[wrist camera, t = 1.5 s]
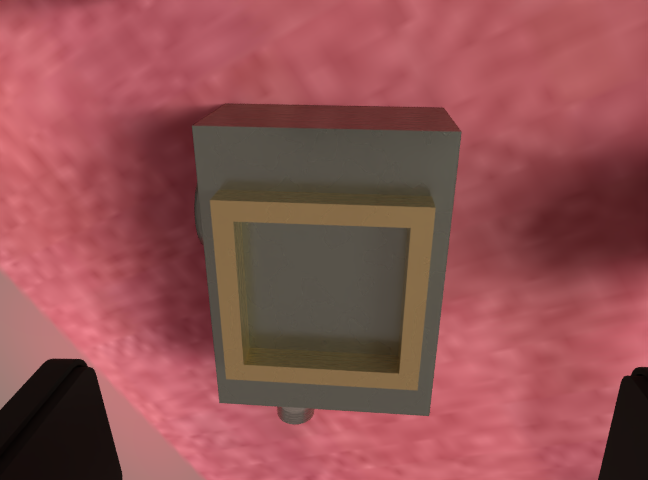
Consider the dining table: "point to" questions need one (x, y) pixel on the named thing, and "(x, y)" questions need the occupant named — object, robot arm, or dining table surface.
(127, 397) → the dining table surface
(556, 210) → the dining table surface
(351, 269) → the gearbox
